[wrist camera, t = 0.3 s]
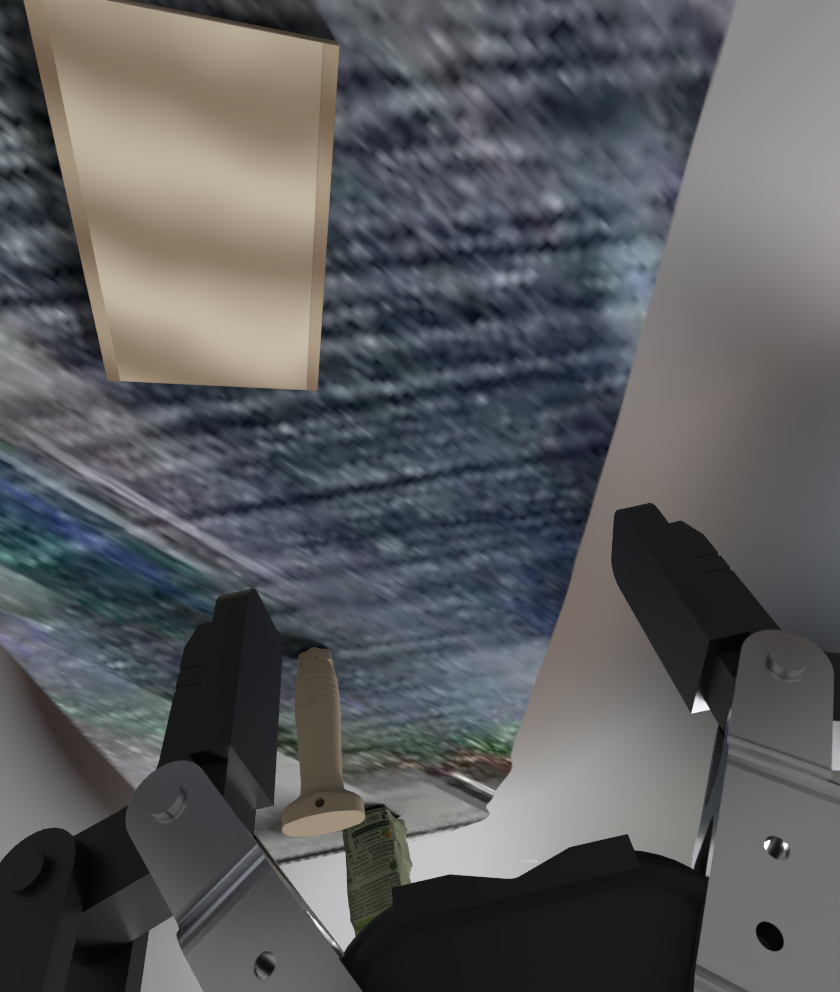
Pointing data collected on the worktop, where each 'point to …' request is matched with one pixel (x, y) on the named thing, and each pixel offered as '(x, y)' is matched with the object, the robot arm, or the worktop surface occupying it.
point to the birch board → (194, 186)
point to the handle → (319, 753)
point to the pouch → (375, 864)
